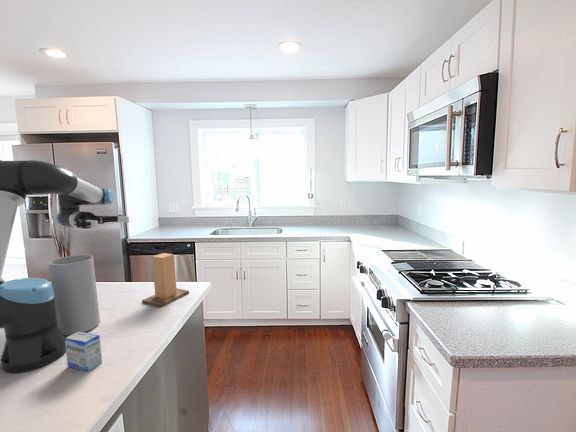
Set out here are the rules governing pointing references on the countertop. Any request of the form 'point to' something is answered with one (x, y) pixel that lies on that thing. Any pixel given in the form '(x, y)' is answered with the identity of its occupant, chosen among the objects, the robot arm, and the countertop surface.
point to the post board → (161, 301)
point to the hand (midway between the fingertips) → (113, 221)
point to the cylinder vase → (75, 293)
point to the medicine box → (83, 351)
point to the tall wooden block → (164, 275)
